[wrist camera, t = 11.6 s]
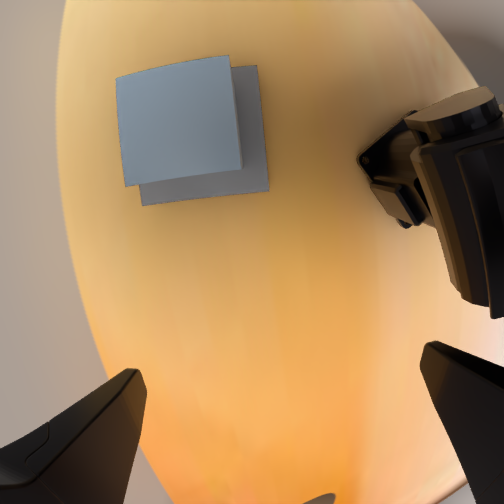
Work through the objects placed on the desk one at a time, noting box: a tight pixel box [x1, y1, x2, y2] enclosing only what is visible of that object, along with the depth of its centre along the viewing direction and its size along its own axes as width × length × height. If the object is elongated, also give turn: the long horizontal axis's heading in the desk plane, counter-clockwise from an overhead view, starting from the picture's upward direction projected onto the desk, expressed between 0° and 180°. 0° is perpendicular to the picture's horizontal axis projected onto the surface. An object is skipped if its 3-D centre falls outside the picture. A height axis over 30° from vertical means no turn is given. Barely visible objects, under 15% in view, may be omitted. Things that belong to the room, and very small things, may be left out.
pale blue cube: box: [116, 55, 243, 187], centre depth 14 cm, size 5×5×6 cm
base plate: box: [139, 65, 269, 206], centre depth 16 cm, size 8×8×4 cm
